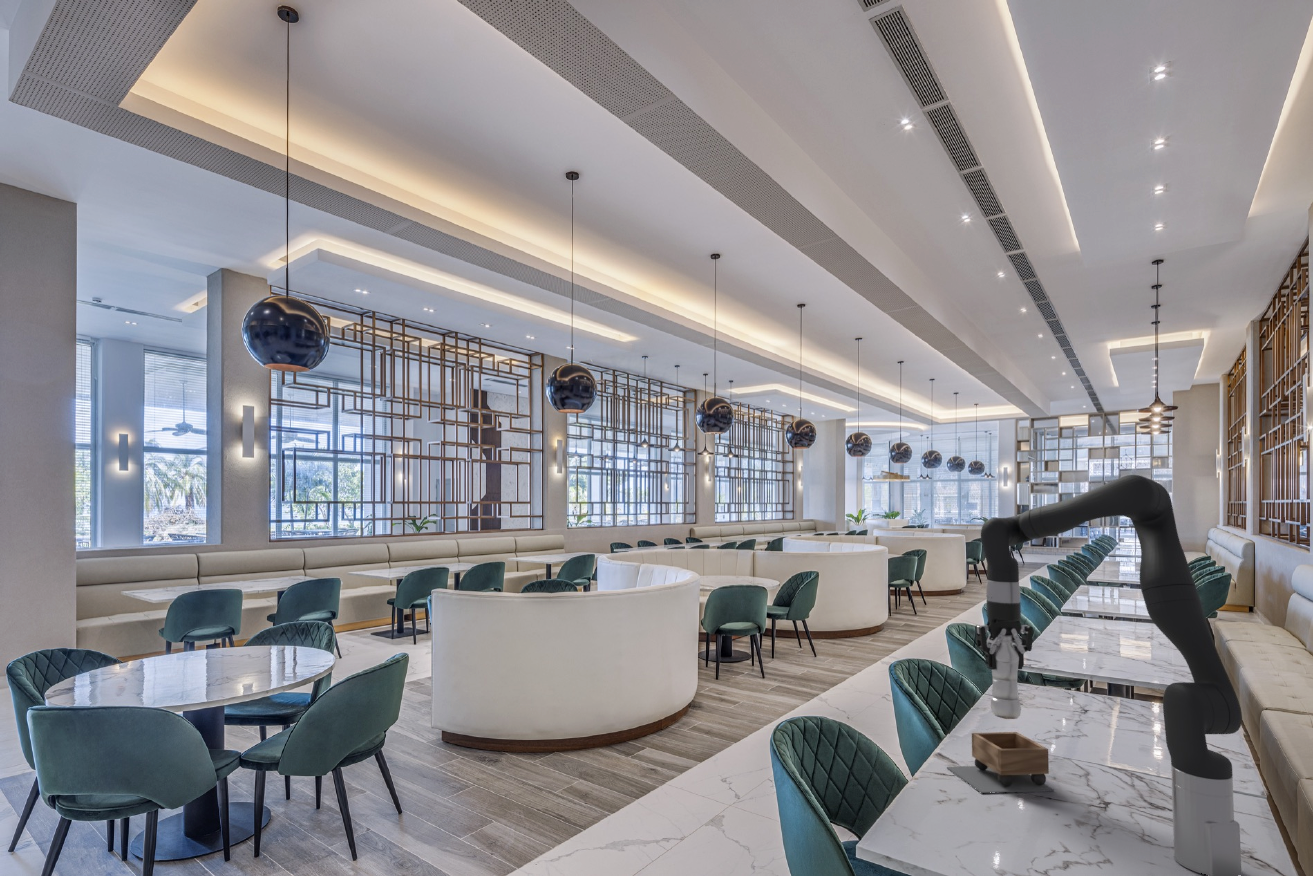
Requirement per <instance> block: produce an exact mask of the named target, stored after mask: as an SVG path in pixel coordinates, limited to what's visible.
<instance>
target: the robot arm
mask: <svg viewBox="0 0 1313 876" xmlns="http://www.w3.org/2000/svg"><path fill="white" fill-rule="evenodd" d="M1171 498H1172V497H1171V496H1170V493H1169V492H1168V491H1167V489H1166V488H1165V487H1164V486H1163V484H1161V483H1158V482H1157V481H1154V480H1152V479H1151V478H1148V477H1145V476H1142V475H1138V474H1127V475H1124V476H1121V477H1119V478H1118V477H1117V478H1116V479H1114V480H1111V481H1109V482H1107V483H1105V484H1103V485H1100V486H1098V487H1096V488H1094V489H1092V490H1091V489H1090V490H1089V491H1086V492H1085V493H1082V494H1079V495H1076V496H1073V497H1071V498H1067V499H1065V500H1060V501H1058V502H1054V503H1050V504H1047V505H1041V506H1038V507H1035V508H1030V509H1028V510H1026V511H1024V512H1022V513H1020V514H1018V515H1014V516H1009V517H992V518H989V519H987V520H985V521H984V523H983V524H982V526H981V529H980V541H981V545H982V549H983V553H984V557H985V560H986V565H987V566H986V569H987V570H986V577H987V580H986V581H987V582H986V588H985V589H986V593H985V594H986V595H985V598H986V617H987V623H986V624H985V625H980V624H975V626H974V630H975V642H976V648H977V650H979V651H982V652H984V659H985V660H984V661H985V667H987V669H989V670H991V671H992V670H994V669H995V654H994V652H995V650H996V648H997V646H999V644H1000V642H1001V640H1002V638H1003V636H1004V635H1012V641H1013V643H1012V646H1013V647H1014V649H1015V650H1016V652H1017V653H1018V656H1019V665H1018V670H1023V667H1024V665H1025V663H1024V661H1025V660H1024V659H1025V657H1024V656H1025V655H1024V654H1025V653H1026V652H1027V653H1028V652H1031V651H1032V649H1033V648H1032V647H1033V634H1034V629H1033V628H1034V627H1033V626H1031V625H1029V624H1028V625H1027V624H1023V625H1022V623H1021V619H1022V615H1021V614H1022V613H1021V611H1022V609H1021V608H1022V607H1021V605H1022V604H1021V588H1020V576H1019V574H1020V573H1019V572H1020V571H1019V568H1020V567H1019V563H1018V560H1017V559H1016V558H1015V557H1012V555H1011V550H1010V547H1012V546H1017V545H1020V544H1024V543H1027V542H1030V541H1032V540H1037V539H1043V538H1046V537H1051V536H1055V535H1059V534H1063V533H1066V532H1068V531H1071V530H1073V529H1075V528H1077V527H1079V526H1080V525H1083V524H1085V523H1087V522H1090V521H1092V520H1097V519H1102V518H1108V517H1109V518H1110V517H1121V516H1123V517H1126V518H1129V519H1130V520H1131V522H1132V525H1133V528H1134V529H1135V533H1136V536H1137V538H1138V541H1139V545H1140V550H1141V551H1140V553H1141V555H1140V566H1139V585H1140V590H1141V593H1142V597H1143V601H1144V605H1145V607H1146V611H1147V613H1148V616H1149V617H1150V619H1151V621H1152V622H1153V624H1154V625H1155V626H1156V627H1157V629H1159V631H1161V633H1162V634H1163V635H1164V636H1165V637H1166V638H1167V639H1168V641H1170V642H1171V643H1172V645H1173V646H1175V648H1176V649H1177V650H1178V651H1179V653H1181V655H1182V656H1183V657H1182V658H1183V659H1184V660H1185V662H1186V664H1187V666H1188V669H1189V671H1190V674H1191V676H1192V679H1193V681H1191V682H1185V681H1184V682H1183V681H1182V682H1172V683H1170V684H1169V685H1168V686H1167V687H1166V688H1165V691H1164V693H1163V697H1162V709H1163V710H1162V712H1163V721H1164V722H1163V723H1164V732H1165V741H1166V747H1167V751H1168V753H1169V755H1170V768H1171V796H1172V797H1171V799H1172V800H1171V801H1172V802H1171V803H1172V827H1173V828H1172V831H1173V832H1172V833H1173V835H1172V836H1173V857H1174V859H1175V861H1176V862H1177V863H1178V864H1180V865H1181V866H1182V867H1184V868H1187V870H1190V871H1193V872H1195V873H1198V874H1201V873H1202V874H1201V875H1204V874H1206V875H1205V876H1207V875H1209V876H1238V875H1242V854H1241V853H1242V850H1241V829H1240V826H1241V825H1240V823H1239V822H1238V821H1236V820H1235V809H1234V807H1235V805H1234V802H1235V801H1234V780H1233V777H1234V776H1233V774H1234V773H1233V765H1232V762H1231V759H1229V758H1228V757H1227V756H1225V755H1224V754H1221V753H1219V752H1216V751H1214V750H1212V749H1209V748H1208V744H1207V738H1206V735H1231V734H1235V733H1236V732H1238V731H1239V730H1240V729H1241V726H1242V723H1243V714H1242V707H1241V704H1240V701H1239V699H1238V696H1237V693H1236V691H1235V688H1234V685H1233V684H1232V681H1231V680H1230V679H1231V678H1230V677H1229V675H1228V673H1227V670H1226V669H1225V667H1224V663H1223V661H1222V659H1221V656H1220V654H1219V653H1218V650H1217V647H1216V644H1215V640H1214V638H1213V636H1212V633H1211V630H1210V627H1209V625H1208V621H1207V618H1206V615H1205V612H1204V608H1203V604H1202V601H1201V597H1200V595H1199V591H1198V587H1197V586H1196V583H1195V580H1194V577H1193V575H1192V572H1191V569H1190V567H1189V564H1188V561H1187V557H1186V555H1185V552H1184V550H1183V546H1182V544H1181V541H1180V537H1179V534H1178V533H1179V532H1178V529H1177V523H1176V519H1175V513H1174V508H1173V503H1172V500H1171ZM988 632H989V634H988ZM1020 633H1021V639H1020V635H1019V634H1020ZM987 635H988V636H987Z"/></svg>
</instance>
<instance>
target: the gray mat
mask: <svg viewBox="0 0 1313 876" xmlns="http://www.w3.org/2000/svg"><path fill="white" fill-rule="evenodd" d="M946 769H947V770H948V771H949V770H950V771H949V772H951V773H952V772H953V773H952V774H954V775H955V774H956V775H957V776H956V775H955V776H956V777H958V778H959V777H960V778H961V780H962V779H963V780H964V781H966V782H967V783H969V784H970V785H971V786H973V787H974V788H976V790H975V791H977V790H978V791H979V792H981V793H990V792H991V793H992V792H995V794H1001V793H1000V792H1023V793H1046V792H1047V793H1048V792H1055V789H1053V787H1051V786H1049V785H1048V784H1046V783H1044V784H1043V785H1037V784H1036V783H1034V782H1033V781H1032V780H1031V774H1026V775H1011V776H1012V778H1013V782H1012V784H1011V785H1010V786H1004V785H1002V784H1001V783H999V781H998V773H997V772H995V771H994V770H992V769H991V768H989V767H988V768H987V769H986V770H980V769H979V768H977V767H976V766H975V765H971V766H970V765H969V766H965V765H964V766H947V767H946ZM960 778H959V779H960ZM963 780H962V781H963ZM964 781H963V782H964ZM966 782H965V783H966ZM967 783H966V784H967ZM970 785H969V786H970ZM971 786H970V787H971ZM973 787H972V788H973ZM974 788H973V789H974ZM978 791H977V792H978ZM979 792H978V793H979ZM997 792H999V793H997ZM981 793H980V794H981Z"/></svg>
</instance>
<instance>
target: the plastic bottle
mask: <svg viewBox="0 0 1313 876" xmlns="http://www.w3.org/2000/svg"><path fill="white" fill-rule="evenodd" d="M1012 643H1013V641H1012V635H1004V636H1003V638H1002V640H1001V642H1000V644H999V646H997V648H996V650H995V652H994V654H995V669H994V670H991V676H992V687H991V688H992V689H991V690H992V691H991V697H990V704H989V705H990V706H989V707H990V710H991V712H992V714H993V715H994V716H995V717H997V718H1000V719H1003V720H1004V719H1005V720H1017V719H1018V718H1019V717H1020V716H1021V712H1022V707H1021V702H1020V699H1019V689H1018V670H1019V669H1018V665H1019V656H1018V653H1017V652H1016V650H1015V649H1014V647H1013V646H1012Z"/></svg>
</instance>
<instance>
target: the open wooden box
mask: <svg viewBox="0 0 1313 876" xmlns="http://www.w3.org/2000/svg"><path fill="white" fill-rule="evenodd" d="M971 757H973V758H974V759H975V760H974V766H976V767H977V768H979V769H980V770H986V769H987V768H988V767H989V768H991V769H992V770H994V771H995V772H997V773H998V781H999V783H1001V784H1002V785H1004V786H1010V785H1011V784H1012V782H1013V778H1012V776H1011V775H1026V774H1029V775H1031V780H1032V781H1033V782H1034V783H1036V784H1037V785H1043V784H1046V780H1047V776H1046V775H1049V774H1050V773H1049V771H1050V767H1049V763H1050V762H1049V761H1050V760H1049V749H1048V748H1047V747H1046V746H1043V745H1042V744H1040V743H1038V742H1036V741H1034V740H1032V739H1030V738H1028V737H1026V736H1025V735H1024V734H1022V733H1019V732H1017V731H1005V732H1003V731H1002V732H972V733H971Z"/></svg>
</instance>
